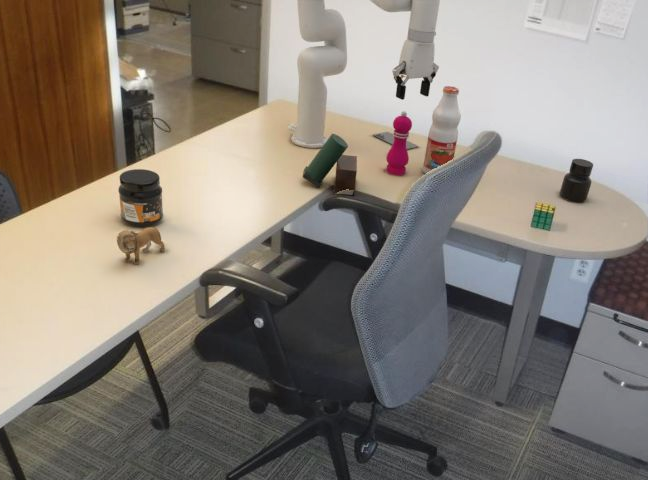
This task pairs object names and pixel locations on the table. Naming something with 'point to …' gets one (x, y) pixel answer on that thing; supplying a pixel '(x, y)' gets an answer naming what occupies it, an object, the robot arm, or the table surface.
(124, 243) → the lion figurine
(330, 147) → the green tube
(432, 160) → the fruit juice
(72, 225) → the table surface
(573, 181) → the ink bottle
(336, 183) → the walnut block
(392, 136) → the smartphone
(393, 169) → the pepper mill
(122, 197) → the supplement container
